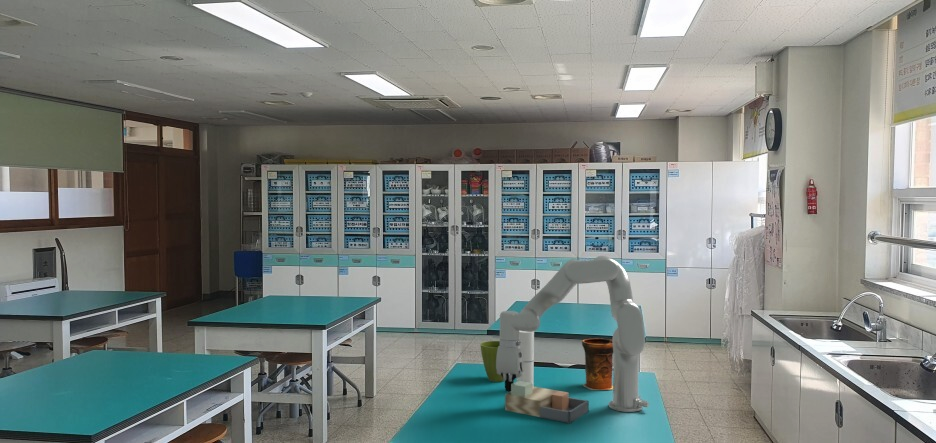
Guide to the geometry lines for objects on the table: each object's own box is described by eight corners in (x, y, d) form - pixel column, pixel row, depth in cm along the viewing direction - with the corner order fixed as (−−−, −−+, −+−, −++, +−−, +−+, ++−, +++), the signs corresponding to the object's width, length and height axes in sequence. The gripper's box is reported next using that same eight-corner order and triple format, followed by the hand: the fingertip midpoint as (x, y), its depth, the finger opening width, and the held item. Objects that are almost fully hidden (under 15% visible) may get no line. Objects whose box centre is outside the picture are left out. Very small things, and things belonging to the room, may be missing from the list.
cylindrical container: (527, 393, 277) (528, 333, 276) (513, 390, 282) (513, 331, 281) (536, 389, 283) (537, 330, 282) (522, 386, 287) (522, 328, 286)
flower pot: (475, 376, 303) (475, 341, 302) (506, 374, 307) (506, 339, 307) (486, 385, 289) (486, 348, 288) (518, 382, 293) (518, 346, 293)
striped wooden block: (559, 406, 259) (559, 390, 259) (540, 417, 246) (540, 401, 246) (525, 399, 267) (525, 385, 267) (505, 410, 254) (505, 394, 254)
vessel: (590, 392, 278) (591, 344, 278) (576, 384, 292) (576, 338, 292) (621, 390, 282) (622, 342, 282) (606, 382, 296) (606, 337, 296)
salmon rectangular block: (559, 406, 258) (568, 408, 256) (552, 410, 253) (561, 412, 251) (559, 390, 258) (568, 392, 255) (552, 394, 253) (562, 396, 250)
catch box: (588, 411, 253) (588, 400, 253) (569, 423, 239) (569, 412, 239) (559, 405, 260) (559, 395, 260) (539, 417, 245) (539, 406, 245)
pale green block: (532, 393, 255) (532, 383, 255) (525, 397, 250) (525, 386, 250) (518, 391, 259) (518, 380, 259) (511, 394, 254) (511, 384, 254)
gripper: (531, 344, 256) (530, 391, 257) (497, 339, 264) (497, 385, 265) (521, 347, 250) (521, 396, 250) (487, 342, 258) (487, 389, 259)
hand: (509, 390), depth 258 cm, fingers closed
